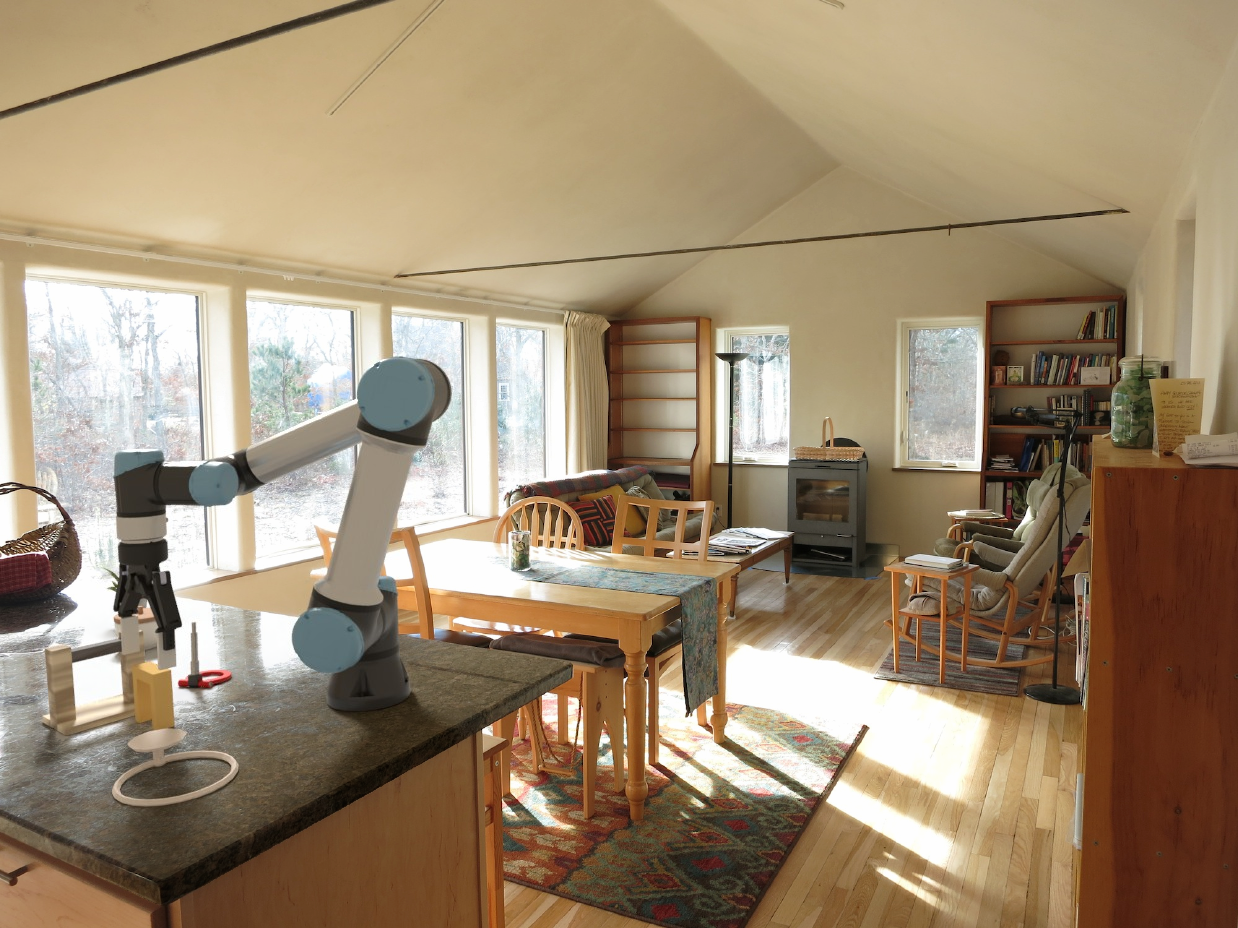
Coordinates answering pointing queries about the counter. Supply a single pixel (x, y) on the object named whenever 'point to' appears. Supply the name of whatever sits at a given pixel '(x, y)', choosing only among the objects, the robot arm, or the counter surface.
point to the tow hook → (196, 676)
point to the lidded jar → (143, 626)
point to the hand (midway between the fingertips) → (148, 660)
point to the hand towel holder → (157, 744)
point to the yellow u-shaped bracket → (153, 695)
